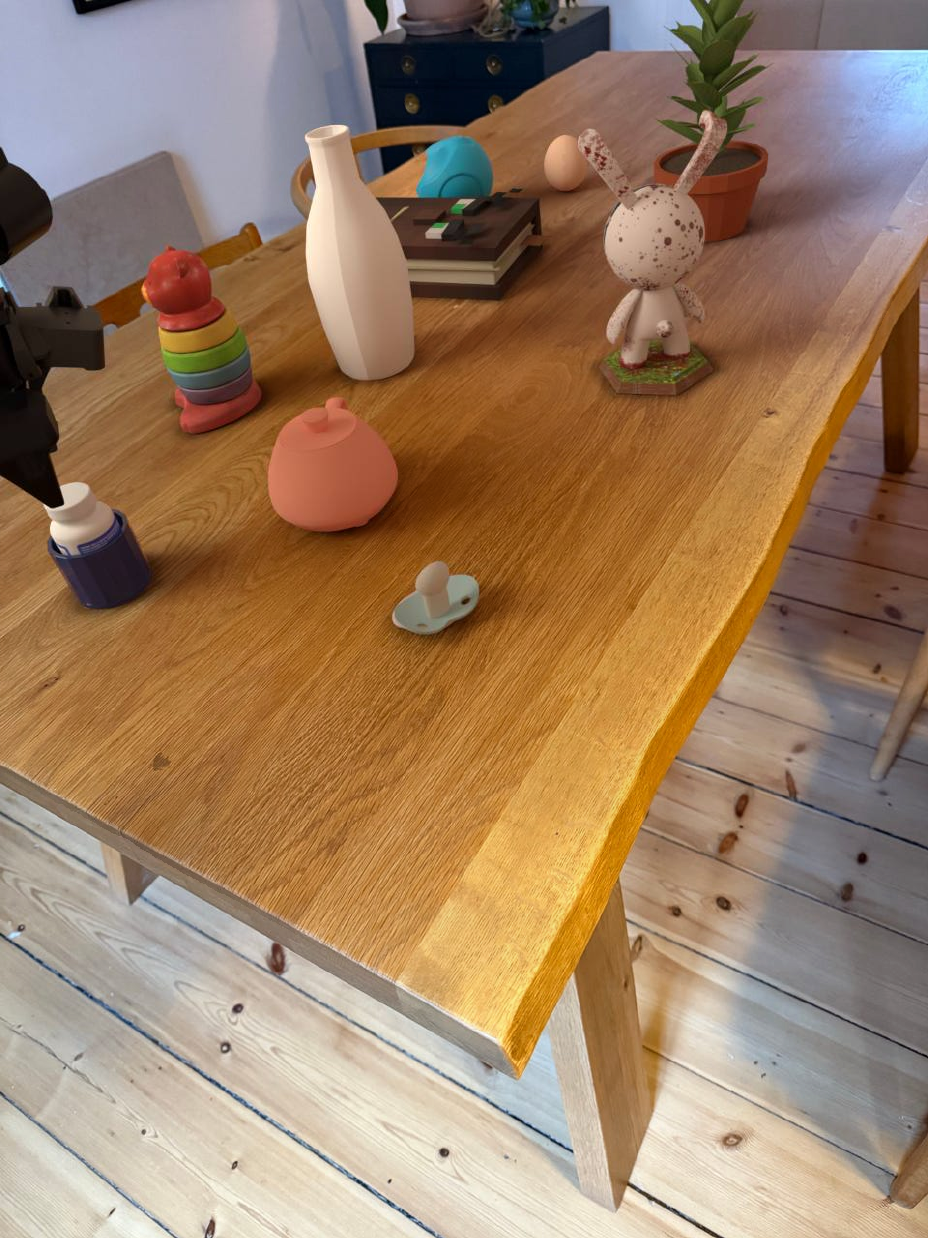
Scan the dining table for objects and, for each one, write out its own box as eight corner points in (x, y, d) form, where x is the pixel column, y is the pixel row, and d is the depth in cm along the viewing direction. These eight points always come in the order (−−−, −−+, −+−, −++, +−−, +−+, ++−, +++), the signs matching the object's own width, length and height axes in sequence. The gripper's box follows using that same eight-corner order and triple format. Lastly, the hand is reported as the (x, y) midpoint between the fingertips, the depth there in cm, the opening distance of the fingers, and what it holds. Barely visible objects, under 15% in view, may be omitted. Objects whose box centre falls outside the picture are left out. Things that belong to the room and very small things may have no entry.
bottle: (313, 371, 108) (250, 142, 90) (382, 333, 113) (334, 109, 95) (373, 396, 101) (317, 155, 84) (442, 354, 106) (403, 119, 89)
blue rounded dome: (438, 205, 144) (426, 126, 136) (506, 203, 140) (498, 121, 132) (412, 234, 136) (398, 152, 128) (484, 233, 132) (473, 149, 124)
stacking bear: (174, 396, 108) (115, 249, 96) (256, 373, 109) (208, 225, 97) (183, 438, 100) (120, 283, 88) (271, 413, 102) (221, 257, 90)
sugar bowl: (262, 547, 83) (227, 454, 76) (302, 462, 93) (274, 372, 86) (389, 544, 81) (365, 448, 74) (416, 457, 91) (397, 365, 84)
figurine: (692, 331, 102) (702, 84, 85) (739, 380, 93) (760, 115, 76) (572, 359, 101) (558, 115, 84) (608, 411, 92) (600, 150, 75)
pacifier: (378, 619, 74) (418, 655, 70) (361, 560, 70) (402, 595, 66) (449, 578, 76) (491, 610, 73) (436, 519, 72) (480, 549, 68)
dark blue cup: (79, 619, 79) (49, 568, 75) (74, 575, 84) (45, 524, 80) (157, 592, 80) (131, 540, 76) (147, 550, 85) (122, 499, 81)
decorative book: (364, 188, 131) (558, 187, 120) (375, 240, 137) (561, 244, 125) (298, 240, 119) (507, 245, 108) (312, 295, 124) (513, 305, 113)
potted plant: (628, 238, 124) (625, -24, 103) (696, 201, 130) (706, -53, 110) (718, 259, 115) (733, -23, 94) (786, 218, 121) (815, -55, 101)
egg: (592, 181, 142) (590, 127, 137) (583, 196, 138) (580, 141, 132) (551, 183, 144) (547, 129, 139) (541, 198, 140) (537, 143, 134)
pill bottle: (151, 561, 83) (109, 474, 77) (130, 600, 79) (83, 512, 73) (98, 563, 84) (52, 477, 78) (74, 602, 80) (23, 515, 74)
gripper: (79, 308, 58) (166, 502, 69) (62, 226, 71) (137, 400, 82) (-98, 359, 56) (20, 552, 67) (-82, 265, 69) (14, 438, 80)
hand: (55, 477), depth 74 cm, fingers open, 9 cm apart
